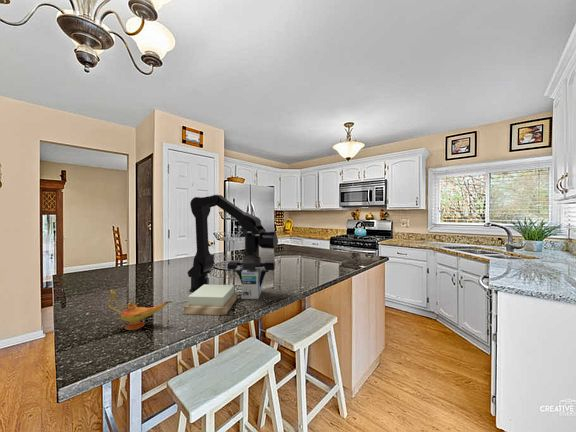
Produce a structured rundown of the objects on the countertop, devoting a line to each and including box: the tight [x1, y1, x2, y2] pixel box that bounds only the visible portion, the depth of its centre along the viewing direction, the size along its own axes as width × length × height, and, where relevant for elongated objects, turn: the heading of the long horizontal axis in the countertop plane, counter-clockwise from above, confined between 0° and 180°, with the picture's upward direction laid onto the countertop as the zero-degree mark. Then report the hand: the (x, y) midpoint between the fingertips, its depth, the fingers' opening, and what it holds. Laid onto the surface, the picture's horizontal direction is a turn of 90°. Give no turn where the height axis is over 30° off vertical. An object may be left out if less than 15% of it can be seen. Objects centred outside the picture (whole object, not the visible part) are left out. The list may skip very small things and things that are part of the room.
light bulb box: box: [241, 267, 263, 300], centre depth 104 cm, size 11×7×11 cm, turn 179°
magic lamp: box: [106, 289, 173, 331], centre depth 76 cm, size 7×18×11 cm, turn 99°
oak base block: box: [183, 291, 238, 316], centre depth 93 cm, size 14×16×3 cm
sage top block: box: [187, 284, 235, 306], centre depth 93 cm, size 12×14×3 cm
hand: (252, 286), depth 104 cm, fingers closed on light bulb box, 7 cm apart
